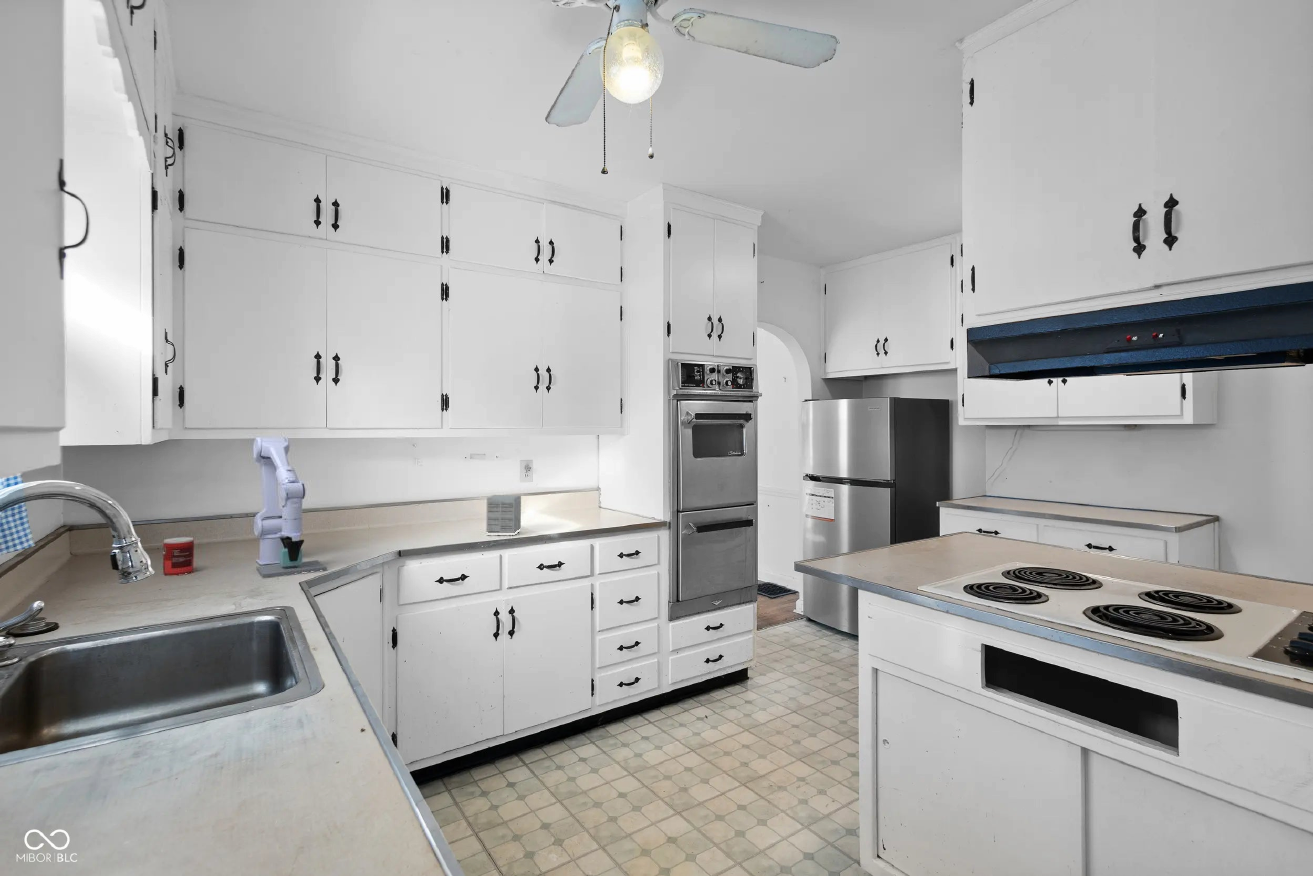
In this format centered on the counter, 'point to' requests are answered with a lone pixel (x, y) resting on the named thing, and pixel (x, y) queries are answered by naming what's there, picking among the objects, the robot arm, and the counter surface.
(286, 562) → the housing cap
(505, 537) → the counter surface
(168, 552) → the canned food
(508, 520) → the supplement box
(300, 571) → the stub plate
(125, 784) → the counter surface
